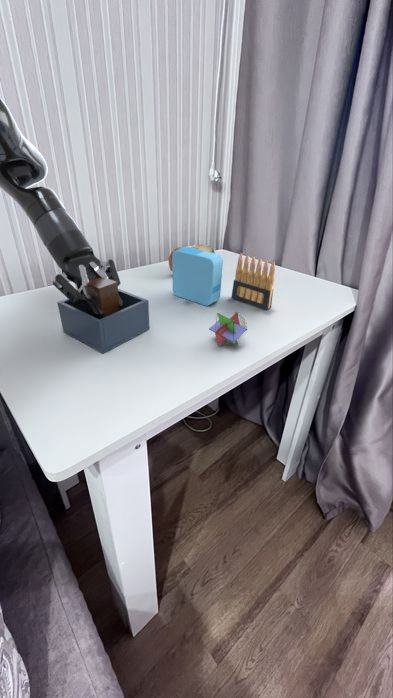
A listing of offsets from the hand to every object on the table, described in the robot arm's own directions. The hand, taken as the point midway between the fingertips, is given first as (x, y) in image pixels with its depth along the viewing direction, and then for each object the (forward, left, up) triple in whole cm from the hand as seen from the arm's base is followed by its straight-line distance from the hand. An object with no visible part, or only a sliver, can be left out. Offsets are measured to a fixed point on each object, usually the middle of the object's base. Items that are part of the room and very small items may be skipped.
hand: (110, 312), depth 66 cm
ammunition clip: (+36, -5, -5) cm, 36 cm away
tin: (+36, +20, -5) cm, 41 cm away
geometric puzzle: (+17, -16, -5) cm, 24 cm away
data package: (+26, +5, -5) cm, 26 cm away
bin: (0, +2, -5) cm, 5 cm away
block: (0, +2, -4) cm, 5 cm away
